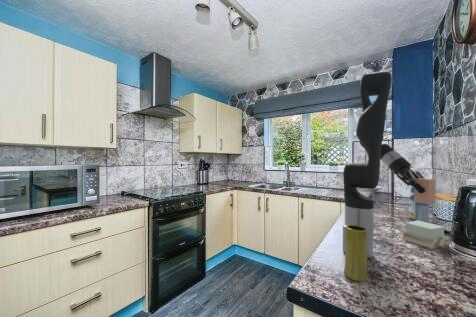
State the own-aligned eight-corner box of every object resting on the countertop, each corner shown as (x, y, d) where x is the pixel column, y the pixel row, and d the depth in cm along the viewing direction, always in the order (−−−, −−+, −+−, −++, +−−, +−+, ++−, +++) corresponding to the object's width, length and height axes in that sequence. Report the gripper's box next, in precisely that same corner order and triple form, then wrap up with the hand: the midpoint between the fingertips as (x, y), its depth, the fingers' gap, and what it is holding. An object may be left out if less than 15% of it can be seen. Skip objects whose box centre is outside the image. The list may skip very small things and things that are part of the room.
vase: (346, 268, 65) (346, 223, 65) (369, 275, 61) (369, 227, 61) (341, 276, 60) (342, 227, 60) (366, 284, 56) (366, 232, 56)
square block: (428, 204, 82) (428, 179, 82) (413, 201, 87) (414, 178, 87) (435, 203, 84) (435, 179, 84) (420, 201, 89) (420, 178, 89)
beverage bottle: (425, 227, 105) (425, 188, 105) (405, 223, 112) (405, 186, 112) (432, 225, 109) (432, 187, 109) (412, 221, 116) (412, 186, 116)
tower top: (431, 239, 80) (431, 229, 80) (405, 231, 88) (405, 222, 88) (444, 236, 83) (444, 226, 83) (417, 229, 92) (418, 220, 92)
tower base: (432, 250, 79) (432, 240, 79) (403, 240, 88) (403, 231, 88) (445, 246, 83) (445, 236, 83) (416, 237, 92) (416, 228, 92)
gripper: (392, 156, 91) (425, 187, 79) (411, 157, 96) (444, 185, 85) (379, 168, 95) (409, 198, 84) (398, 167, 101) (428, 196, 90)
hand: (426, 191), depth 85 cm, fingers closed on square block, 5 cm apart
